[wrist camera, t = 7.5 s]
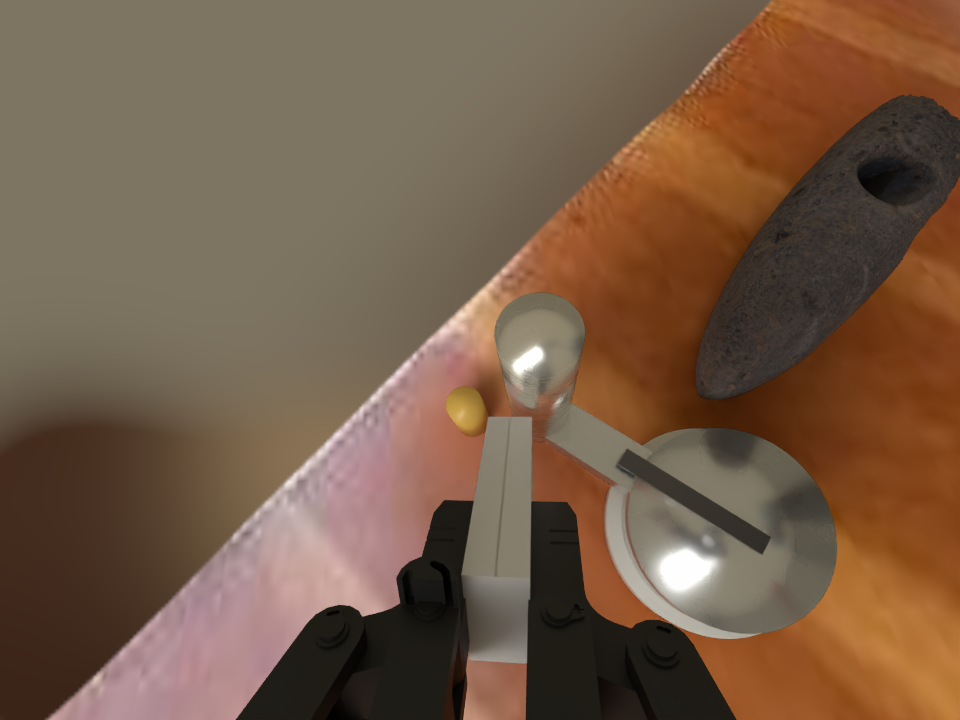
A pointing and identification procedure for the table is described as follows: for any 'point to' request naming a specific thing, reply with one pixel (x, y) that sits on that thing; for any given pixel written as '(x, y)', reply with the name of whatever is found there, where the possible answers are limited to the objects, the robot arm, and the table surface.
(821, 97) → the table surface
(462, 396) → the shiny assorted pieces
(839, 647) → the table surface
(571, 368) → the dial lever
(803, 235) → the perforated stone tool
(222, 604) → the table surface
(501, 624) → the robot arm
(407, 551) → the table surface
